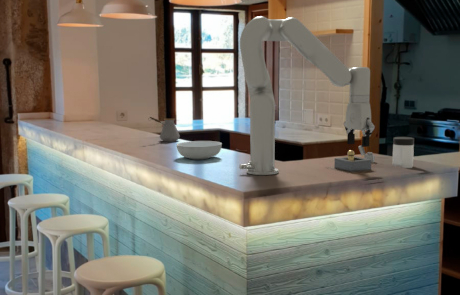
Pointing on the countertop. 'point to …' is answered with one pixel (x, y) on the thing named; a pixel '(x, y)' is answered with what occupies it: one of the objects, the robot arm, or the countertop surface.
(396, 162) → the jar
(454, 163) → the countertop surface
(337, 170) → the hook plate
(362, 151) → the lighter
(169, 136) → the coffee pot
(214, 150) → the serving bowl
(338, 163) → the grey square frame
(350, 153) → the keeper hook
